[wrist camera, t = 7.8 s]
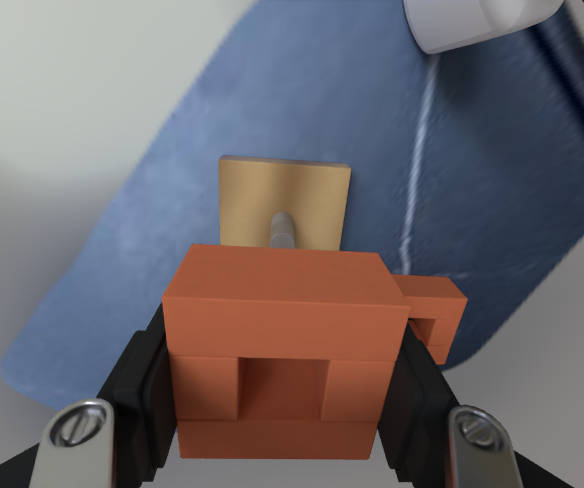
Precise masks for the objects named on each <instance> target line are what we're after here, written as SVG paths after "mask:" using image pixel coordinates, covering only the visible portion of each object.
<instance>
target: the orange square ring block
mask: <svg viewBox="0 0 584 488" xmlns="http://www.w3.org/2000/svg"><path fill="white" fill-rule="evenodd" d="M391 275H392V277H393V279H394V280H395V282H396V283H397V285H398V287H399V288H400V290H401V291H402V293H403V295H404V296H405V298H406V299H407V301H408V303H409V304H410V306H411V309H410V313H409V317H408V318H413V320H407V321H408V323H409V324H410V326H411V328H412V330H413V332H414V333H415V335H416V337H417V339H420V340H421V341H423V343H424V344H425V346H426V347H427V349H428V351H429V352H430V354H431V356H432V358H433V359H434V361H435V363H436V364H445V361H446V358H447V356H448V353H449V350H450V346H451V344H452V341H453V339H454V336H455V333H456V330H457V327H458V325H459V322H460V319H461V317H462V314H463V311H464V308H465V305H466V303H467V300H468V299H467V298H466V297H465V296H464V295H463V293H462V292H461V291H460V290H459V289H458V288H457V287H456V286H455V285H454V284H453V282H452V281H451V280H450V279H449V278H448V277H436V276H415V275H394V274H391Z"/></svg>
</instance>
